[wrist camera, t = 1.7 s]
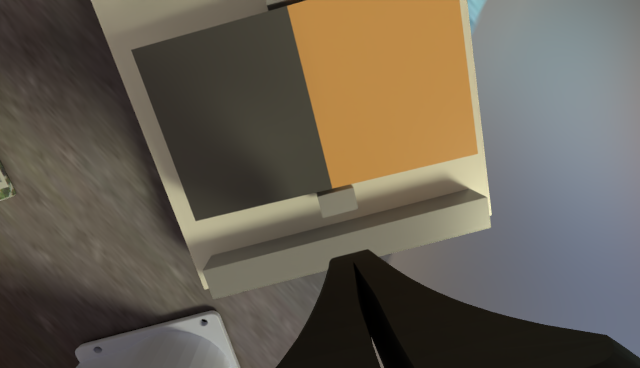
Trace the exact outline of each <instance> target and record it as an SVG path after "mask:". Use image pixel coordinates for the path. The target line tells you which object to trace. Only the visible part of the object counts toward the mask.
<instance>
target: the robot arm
mask: <svg viewBox="0 0 640 368" xmlns="http://www.w3.org/2000/svg"><path fill="white" fill-rule="evenodd" d="M201 319H205V320H207V321H208V322H203V321H202V320H201ZM371 337H372V339H373V342H374V344H375V346H376V349H377V351H378V354H379V356H380V358H381V361H382V363H383V366H384V368H640V358H639V357H638V356H636V355H635V354H633V353H632V352H630V351H629V350H628V349H626V348H625V347H623V346H622V345H620V344H619V343H618V342H616V341H615V340H613V339H612V338H610V337H609V336H607V335H603V334H596V333H590V332H585V331H579V330H573V329H567V328H560V327H555V326H548V325H544V324H539V323H534V322H530V321H526V320H522V319H517V318H513V317H509V316H505V315H502V314H498V313H494V312H490V311H488V310H484V309H481V308H478V307H475V306H472V305H469V304H466V303H463V302H460V301H458V300H455V299H453V298H450V297H448V296H445V295H443V294H441V293H438V292H436V291H434V290H432V289H430V288H428V287H426V286H424V285H422V284H420V283H418V282H416V281H414V280H413V279H411V278H409V277H407V276H406V275H404V274H403V273H401V272H400V271H398V270H397V269H395V268H393V267H392V266H391V265H389V264H388V263H386V262H385V261H384V260H382V259H381V258H380V257H378V256H377V255H376V254H374V253H373V252H372V251H370V250H369V249H366V250H362V251H358V252H354V253H350V254H346V255H342V256H338V257H335V258H331V260H330V261H329V267H328V271H327V275H326V278H325V281H324V284H323V287H322V290H321V292H320V295H319V298H318V300H317V302H316V304H315V306H314V308H313V311H312V313H311V315H310V317H309V319H308V321H307V322H306V324H305V326H304V328H303V329H302V331H301V333H300V334H299V336H298V338H297V339H296V341H295V342H294V344H293V345H292V347H291V348H290V349H289V351H288V352H287V354H286V355H285V356H284V358H283V359H282V360H281V362H280V363H279V364H278V365H277V367H276V368H381V367H380V364H379V362H378V359H377V356H376V353H375V350H374V347H373V344H372V339H371ZM99 347H100V348H101V349H100V348H99ZM75 355H76V357H77V359H78V361H79V362H80V363H79V364H78V366H77V367H76V368H240V366H239V363H238V360H237V358H236V355H235V353H234V350H233V348H232V345H231V342H230V340H229V337H228V335H227V332H226V329H225V327H224V324H223V322H222V319H221V317H220V314H219V313H218V312H216V311H207V312H203V313H199V314H195V315H192V316H188V317H184V318H180V319H176V320H172V321H168V322H165V323H161V324H157V325H153V326H149V327H145V328H141V329H138V330H134V331H130V332H126V333H122V334H118V335H114V336H111V337H107V338H103V339H99V340H95V341H91V342H87V343H84V344H81V345H80V346H79V347H78V348H77V349H76V350H75Z"/></svg>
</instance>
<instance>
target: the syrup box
mask: <svg viewBox="0 0 640 368" xmlns="http://www.w3.org/2000/svg"><path fill="white" fill-rule="evenodd" d="M14 195H16V192H15V190H14V188H13V186H12V184H11V182H10V179H9V178H8V176H7V174H6V172H5V170H4V167H3V166H2V164H1V162H0V201H1V200H4V199H7V198H10V197H12V196H14Z"/></svg>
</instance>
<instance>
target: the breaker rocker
mask: <svg viewBox="0 0 640 368" xmlns="http://www.w3.org/2000/svg"><path fill="white" fill-rule="evenodd" d="M131 51H132V54H133V57H134V59H135V62H136V65H137V67H138V70H139V73H140V75H141V78H142V80H143V83H144V86H145V88H146V91H147V94H148V96H149V99H150V102H151V104H152V107H153V110H154V112H155V115H156V118H157V120H158V123H159V126H160V128H161V131H162V134H163V136H164V139H165V141H166V144H167V147H168V149H169V152H170V155H171V157H172V160H173V163H174V165H175V168H176V171H177V173H178V176H179V179H180V181H181V184H182V187H183V189H184V192H185V195H186V197H187V200H188V202H189V205H190V208H191V210H192V213H193V216H194V218H195V221H199V220H203V219H207V218H211V217H216V216H220V215H224V214H228V213H232V212H237V211H241V210H245V209H249V208H253V207H258V206H262V205H266V204H270V203H274V202H278V201H283V200H287V199H291V198H295V197H299V196H304V195H308V194H312V193H316V192H320V191H325V190H329V189H333V188H337V187H341V186H345V185H350V184H354V183H358V182H362V181H366V180H371V179H375V178H379V177H383V176H387V175H392V174H396V173H400V172H404V171H408V170H412V169H417V168H421V167H425V166H429V165H433V164H438V163H442V162H446V161H450V160H454V159H459V158H463V157H467V156H471V155H475V154H478V149H477V141H476V133H475V124H474V116H473V108H472V100H471V91H470V83H469V75H468V66H467V58H466V50H465V42H464V33H463V25H462V17H461V8H460V0H306V1H303V2H299V3H295V4H292V5H288V6H285V7H281V8H278V9H274V10H271V11H267V12H263V13H260V14H256V15H253V16H249V17H246V18H242V19H239V20H235V21H231V22H228V23H224V24H221V25H217V26H214V27H210V28H207V29H203V30H200V31H196V32H192V33H189V34H185V35H182V36H178V37H175V38H171V39H168V40H164V41H160V42H157V43H153V44H150V45H146V46H143V47H139V48H136V49H132V50H131Z"/></svg>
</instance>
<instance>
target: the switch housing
mask: <svg viewBox="0 0 640 368" xmlns="http://www.w3.org/2000/svg"><path fill="white" fill-rule="evenodd" d="M303 1H306V0H91V2H92V4H93V7H94V10H95V12H96V15H97V17H98V20H99V22H100V25H101V27H102V30H103V32H104V35H105V38H106V40H107V43H108V45H109V48H110V50H111V53H112V55H113V58H114V60H115V63H116V66H117V68H118V71H119V73H120V76H121V78H122V81H123V83H124V86H125V88H126V91H127V94H128V96H129V99H130V101H131V104H132V106H133V109H134V111H135V114H136V117H137V119H138V122H139V124H140V127H141V129H142V132H143V134H144V137H145V139H146V142H147V145H148V147H149V150H150V152H151V155H152V157H153V160H154V162H155V165H156V167H157V170H158V173H159V175H160V178H161V180H162V183H163V185H164V188H165V190H166V193H167V195H168V198H169V201H170V203H171V206H172V208H173V211H174V213H175V216H176V218H177V221H178V223H179V226H180V229H181V231H182V234H183V236H184V239H185V241H186V244H187V246H188V249H189V251H190V254H191V257H192V259H193V262H194V264H195V267H196V269H197V272H198V274H199V277H200V279H201V282H202V285H203V287H204V290H205V289H208V288H209V290H210V292H211V295H212V297H213V299H217V298H221V297H225V296H229V295H233V294H237V293H240V292H244V291H248V290H252V289H256V288H260V287H264V286H267V285H271V284H275V283H279V282H283V281H287V280H291V279H294V278H298V277H302V276H306V275H310V274H314V273H318V272H321V271H325V270H328V267H329V261H330V260H331V258H335V257H338V256H342V255H346V254H350V253H354V252H358V251H362V250H366V249H369V250H370V251H372V252H373V253H374V254H376V255H377V256H378V257H379V256H383V255H387V254H391V253H395V252H398V251H402V250H406V249H410V248H414V247H418V246H421V245H426V244H429V243H433V242H437V241H441V240H445V239H448V238H453V237H456V236H460V235H464V234H468V233H471V232H476V231H480V230H483V229H487V228H491V224H490V215H492V214H491V205H490V196H489V188H488V179H487V170H486V162H485V153H484V144H483V135H482V127H481V118H480V110H479V101H478V93H477V84H476V75H475V66H474V58H473V49H472V40H471V31H470V23H469V14H468V5H467V0H460V8H461V17H462V25H463V33H464V42H465V50H466V58H467V66H468V75H469V83H470V91H471V100H472V108H473V116H474V124H475V133H476V141H477V149H478V154H475V155H471V156H467V157H463V158H459V159H454V160H450V161H446V162H442V163H438V164H433V165H429V166H425V167H421V168H417V169H412V170H408V171H404V172H400V173H396V174H392V175H387V176H383V177H379V178H375V179H371V180H366V181H362V182H358V183H354V184H350V185H345V186H341V187H337V188H333V189H329V190H325V191H320V192H316V193H312V194H308V195H304V196H299V197H295V198H291V199H287V200H283V201H278V202H274V203H270V204H266V205H262V206H258V207H253V208H249V209H245V210H241V211H237V212H232V213H228V214H224V215H220V216H216V217H211V218H207V219H203V220H199V221H195V218H194V216H193V213H192V210H191V208H190V205H189V202H188V200H187V197H186V195H185V192H184V189H183V187H182V184H181V181H180V179H179V176H178V173H177V171H176V168H175V165H174V163H173V160H172V157H171V155H170V152H169V149H168V147H167V144H166V141H165V139H164V136H163V134H162V131H161V128H160V126H159V123H158V120H157V118H156V115H155V112H154V110H153V107H152V104H151V102H150V99H149V96H148V94H147V91H146V88H145V86H144V83H143V80H142V78H141V75H140V73H139V70H138V67H137V65H136V62H135V59H134V57H133V54H132V51H131V50H132V49H136V48H139V47H143V46H146V45H150V44H153V43H157V42H160V41H164V40H168V39H171V38H175V37H178V36H182V35H185V34H189V33H192V32H196V31H200V30H203V29H207V28H210V27H214V26H217V25H221V24H224V23H228V22H231V21H235V20H239V19H242V18H246V17H249V16H253V15H256V14H260V13H263V12H267V11H271V10H274V9H278V8H281V7H285V6H288V5H292V4H295V3H299V2H303Z"/></svg>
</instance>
